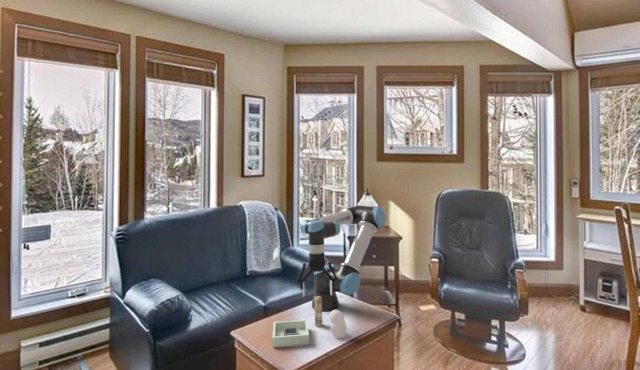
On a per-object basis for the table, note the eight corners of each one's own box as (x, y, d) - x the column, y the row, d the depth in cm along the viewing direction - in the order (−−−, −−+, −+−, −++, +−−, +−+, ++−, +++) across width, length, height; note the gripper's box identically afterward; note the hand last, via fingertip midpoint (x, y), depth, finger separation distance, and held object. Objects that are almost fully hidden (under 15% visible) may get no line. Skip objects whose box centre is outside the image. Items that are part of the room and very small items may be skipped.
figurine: (330, 331, 173) (329, 307, 172) (346, 331, 173) (345, 306, 172) (330, 339, 166) (329, 313, 165) (346, 338, 166) (346, 313, 165)
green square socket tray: (273, 331, 175) (273, 321, 175) (307, 328, 177) (306, 319, 177) (272, 347, 160) (272, 337, 159) (309, 344, 161) (309, 335, 161)
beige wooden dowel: (314, 323, 182) (314, 296, 181) (322, 323, 182) (321, 296, 182) (315, 327, 179) (314, 299, 178) (322, 326, 179) (322, 298, 178)
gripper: (291, 255, 173) (292, 299, 174) (343, 253, 176) (343, 296, 177) (291, 251, 181) (292, 293, 182) (340, 249, 183) (341, 291, 184)
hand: (317, 295), depth 179 cm, fingers open, 13 cm apart
